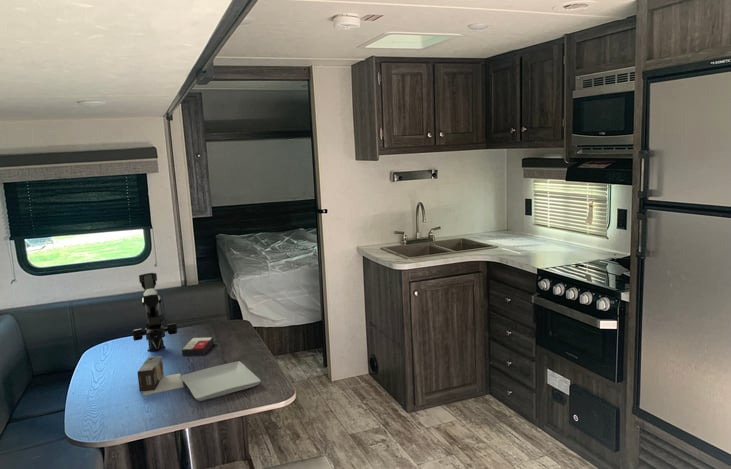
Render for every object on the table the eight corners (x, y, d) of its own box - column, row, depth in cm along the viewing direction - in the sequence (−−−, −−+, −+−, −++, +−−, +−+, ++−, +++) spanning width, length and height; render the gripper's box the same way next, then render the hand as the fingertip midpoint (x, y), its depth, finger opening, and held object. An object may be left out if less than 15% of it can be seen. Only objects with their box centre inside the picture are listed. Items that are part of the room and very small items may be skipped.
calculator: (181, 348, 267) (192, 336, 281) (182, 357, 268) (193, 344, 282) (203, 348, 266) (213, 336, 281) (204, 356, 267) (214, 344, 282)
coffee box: (164, 374, 243) (155, 390, 228) (149, 376, 243) (139, 392, 227) (162, 355, 242) (152, 370, 226) (147, 356, 241) (136, 371, 225)
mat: (141, 381, 238) (141, 380, 238) (180, 373, 244) (179, 373, 244) (143, 395, 224) (143, 395, 224) (183, 387, 230) (183, 386, 230)
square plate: (196, 407, 212) (195, 397, 211) (179, 383, 235) (178, 375, 234) (262, 388, 226) (261, 379, 225) (240, 367, 249) (239, 359, 248)
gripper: (130, 312, 241) (133, 344, 233) (174, 306, 249) (179, 336, 241) (131, 324, 250) (135, 355, 242) (174, 318, 257) (179, 347, 249)
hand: (157, 348), depth 243 cm, fingers closed
